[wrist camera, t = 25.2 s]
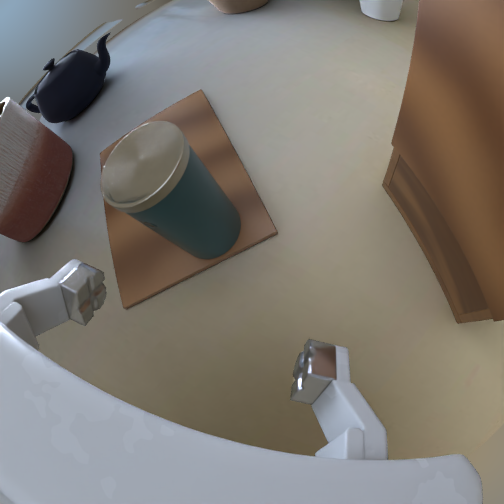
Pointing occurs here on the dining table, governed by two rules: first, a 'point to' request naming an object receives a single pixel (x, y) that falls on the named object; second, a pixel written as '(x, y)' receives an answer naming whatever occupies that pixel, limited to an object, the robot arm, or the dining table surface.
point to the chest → (436, 242)
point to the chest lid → (460, 128)
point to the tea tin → (170, 190)
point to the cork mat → (159, 248)
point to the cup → (381, 9)
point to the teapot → (70, 84)
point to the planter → (29, 172)
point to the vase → (237, 5)
